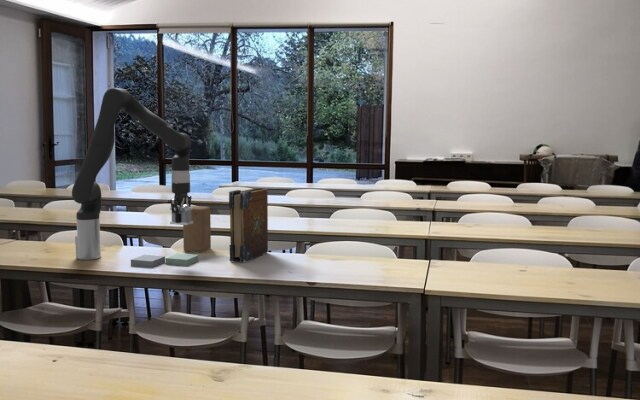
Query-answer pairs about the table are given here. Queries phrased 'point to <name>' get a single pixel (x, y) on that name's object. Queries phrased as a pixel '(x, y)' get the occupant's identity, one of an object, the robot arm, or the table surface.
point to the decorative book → (248, 223)
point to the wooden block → (198, 230)
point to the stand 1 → (147, 261)
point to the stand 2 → (182, 259)
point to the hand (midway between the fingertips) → (181, 221)
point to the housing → (183, 216)
